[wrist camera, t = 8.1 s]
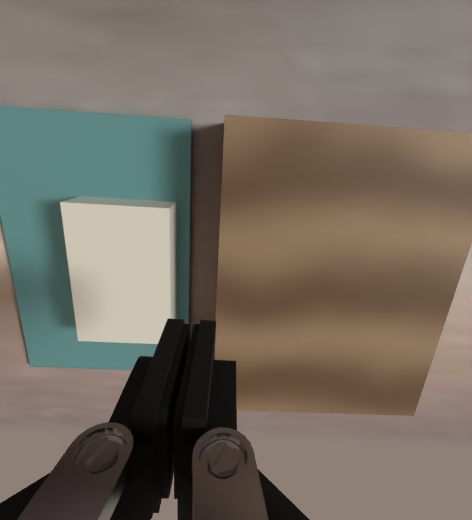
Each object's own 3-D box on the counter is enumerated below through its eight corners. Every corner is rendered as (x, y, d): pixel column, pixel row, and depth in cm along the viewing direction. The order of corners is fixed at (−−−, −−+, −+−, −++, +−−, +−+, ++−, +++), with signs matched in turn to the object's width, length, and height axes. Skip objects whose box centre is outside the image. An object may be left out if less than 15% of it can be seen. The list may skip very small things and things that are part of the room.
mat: (-17, 105, 18) (-22, 104, 17) (191, 120, 18) (191, 119, 18) (33, 363, 23) (30, 366, 23) (188, 368, 24) (187, 372, 24)
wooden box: (225, 122, 18) (224, 114, 14) (451, 138, 19) (507, 135, 15) (213, 369, 24) (211, 409, 20) (385, 375, 25) (413, 415, 21)
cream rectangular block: (169, 208, 17) (176, 201, 19) (60, 202, 17) (80, 196, 19) (170, 344, 20) (176, 325, 22) (77, 341, 20) (93, 321, 22)
